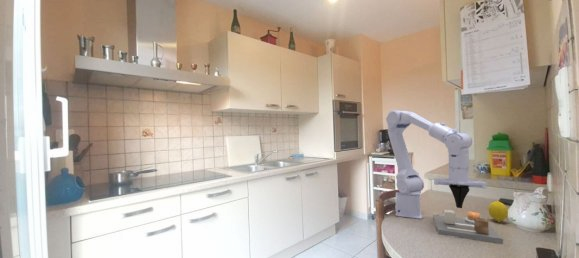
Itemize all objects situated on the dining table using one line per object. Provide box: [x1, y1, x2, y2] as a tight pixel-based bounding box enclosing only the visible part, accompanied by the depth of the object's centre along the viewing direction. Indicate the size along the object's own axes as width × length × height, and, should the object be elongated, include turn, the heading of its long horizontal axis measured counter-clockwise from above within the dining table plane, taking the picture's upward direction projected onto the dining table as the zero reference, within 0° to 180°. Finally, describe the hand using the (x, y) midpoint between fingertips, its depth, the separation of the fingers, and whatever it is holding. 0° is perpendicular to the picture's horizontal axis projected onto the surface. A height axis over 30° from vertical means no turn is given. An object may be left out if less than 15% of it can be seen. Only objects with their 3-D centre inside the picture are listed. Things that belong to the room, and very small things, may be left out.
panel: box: [432, 214, 504, 244], centre depth 85 cm, size 17×16×2 cm
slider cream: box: [443, 209, 456, 225], centre depth 87 cm, size 3×3×4 cm
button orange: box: [466, 210, 481, 220], centre depth 88 cm, size 4×4×2 cm
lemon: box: [488, 200, 509, 223], centre depth 92 cm, size 6×6×8 cm
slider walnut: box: [474, 217, 489, 235], centre depth 79 cm, size 3×3×4 cm
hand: (458, 207), depth 83 cm, fingers closed
